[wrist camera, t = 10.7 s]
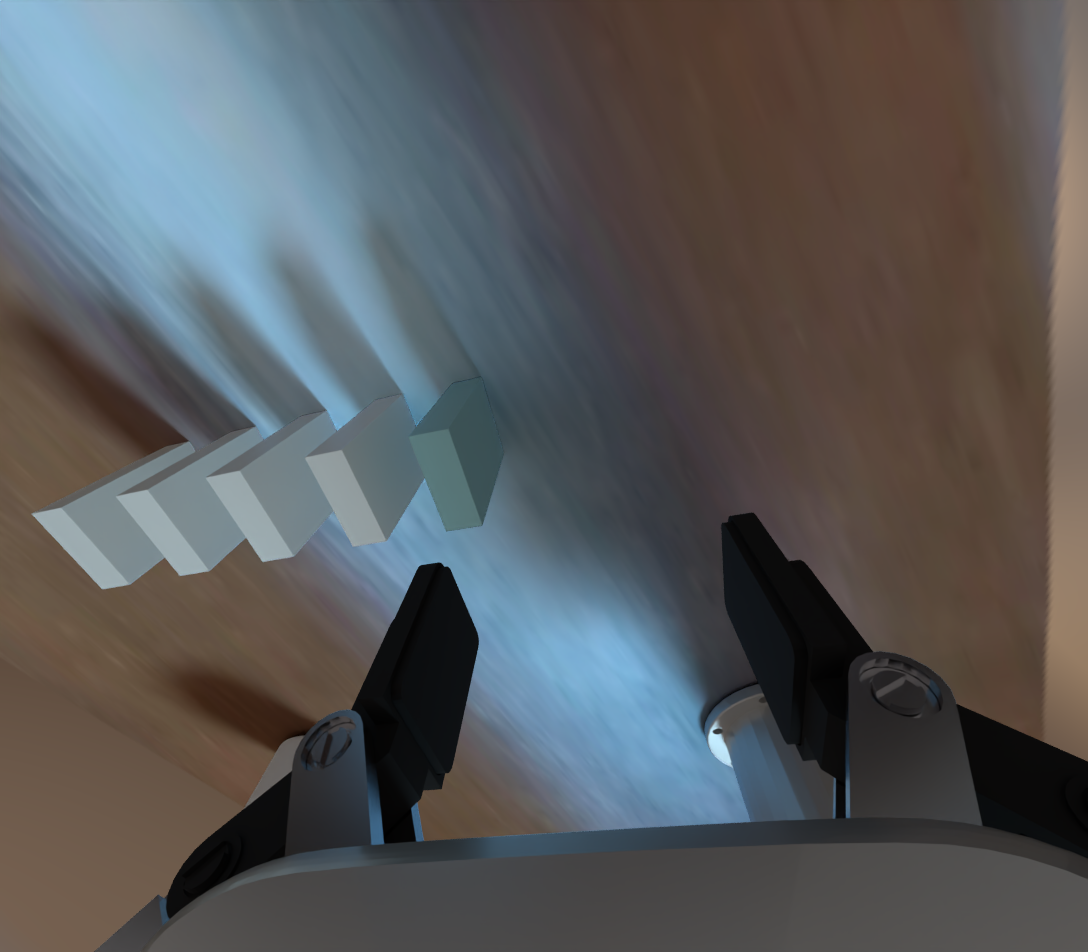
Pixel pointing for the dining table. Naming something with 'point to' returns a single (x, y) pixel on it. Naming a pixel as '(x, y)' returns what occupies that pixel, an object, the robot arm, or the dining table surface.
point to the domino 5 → (459, 453)
